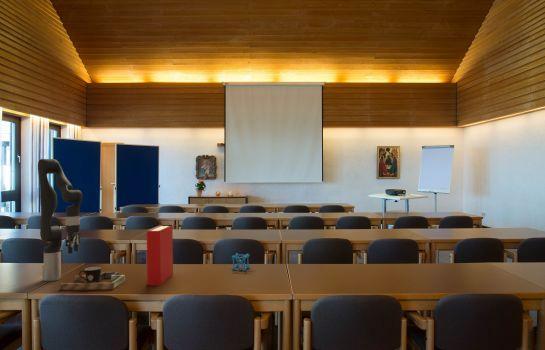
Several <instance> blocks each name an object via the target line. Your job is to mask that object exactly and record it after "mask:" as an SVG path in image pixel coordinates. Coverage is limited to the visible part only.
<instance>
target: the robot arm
mask: <svg viewBox="0 0 545 350" xmlns="http://www.w3.org/2000/svg"><path fill="white" fill-rule="evenodd" d="M37 174H38V181H39V192H40V193H39V196H40V197H39V199H40V200H39V201H40V228H39V229H40V230H39V234H40V239H41V241H42V242H44V243H48V242H49V243H48V245H46V246H45V247H44V248H43V264H42V269H41V270H42V273H41V274H42V281H44V282H55V281H58V280H61V277H62V274H61V273H62V271H61V267H62V265H61V264H62V263H61V262H62V260H61V257H62V255H61V250H62V244H63V243H62V242H63V231H62V228H61V227H60V226H58V225H52V218H53V215H54V213H55V211H56V209H57V206H58V195H57V192H56V191H55V189H54V188H53V186H52V185H51V184H50V182H49V179H48V178H49V177H48V174H49V175H52V174H53V175H56V178H55V185H56V187H57V188H58V190H59V191H60V193H61V197H62V200H63V201H64V202H65V203H72V205H69V206H66V208H65V216H66V217H65V232H66V233H67V234H68V235H66V236H65V237H64V239H65V240H64V241H65V247H67V253H68V254H73V252H78V251H79V244H80V243H81V219H80V208H81V204H82V201H83V193H82V191H81V190H79V189H74V187H73V185H72V183H71V182H70V180H68V178H67V176H66V175H65V173H64V171H63V168H62V166H61V165H60V162H59V161H58V160H57V159H54V158H40V159H39V160H38V161H37Z"/></svg>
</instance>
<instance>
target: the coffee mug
mask: <svg viewBox="0 0 545 350" xmlns="http://www.w3.org/2000/svg"><path fill="white" fill-rule="evenodd" d="M101 270H102V267H100V266H90V267H86V268H85V269H84V270H80V271H79V272H78V273H79V274H78V276H80V277H81V278H83V277H82V276H83V275H81V273H82V272H83V273H84V275H86V279H85V278H83V279H84V280H86V281H85V282H86V283H100V282H101V281H100V272H102V271H101ZM99 281H100V282H99Z"/></svg>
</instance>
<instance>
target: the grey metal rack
mask: <svg viewBox="0 0 545 350" xmlns="http://www.w3.org/2000/svg"><path fill="white" fill-rule="evenodd" d="M81 276H82V277H83V278H85V279H86V274H83V275H81ZM83 278H81V277H80V275H75V276H74V282H61V283H60V286H59V287H60V291H74V290H75V291H79V290H80V291H81V290H83V291H85V290H114V289H116V288H117V287H118V286H120V285H122V284H123V283H124V282H126V275H125V274H120V272H119V271H101V272H100V281H99V283H87V281H86V280H84V279H83ZM104 279H110V282H101V281H103V280H104Z"/></svg>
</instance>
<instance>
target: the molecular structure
mask: <svg viewBox="0 0 545 350" xmlns="http://www.w3.org/2000/svg"><path fill="white" fill-rule="evenodd" d="M249 257H250V254H249V253H246V254H239V253H235V255H232V256H231V259H232V267H231V270H232V271H235V270H240V271H243V272H246V271H247V269H249V268H250V267H251V266H250V265H249ZM235 260H236V265H235ZM246 261H247V264H246Z"/></svg>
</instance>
